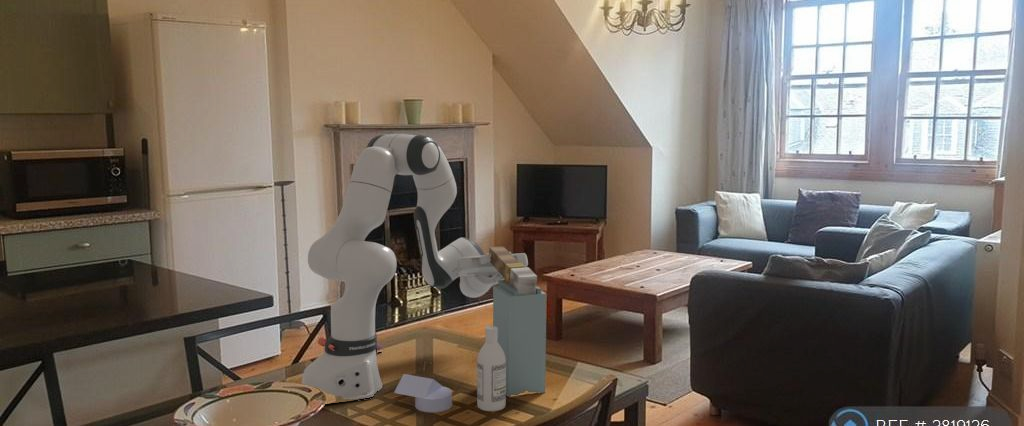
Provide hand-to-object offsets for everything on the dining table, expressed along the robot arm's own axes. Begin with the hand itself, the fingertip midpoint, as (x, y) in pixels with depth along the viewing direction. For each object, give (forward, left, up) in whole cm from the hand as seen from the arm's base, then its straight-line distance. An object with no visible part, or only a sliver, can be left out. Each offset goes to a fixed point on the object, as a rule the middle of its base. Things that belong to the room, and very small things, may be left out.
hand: (499, 255), depth 214 cm
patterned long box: (-2, -8, -4) cm, 9 cm away
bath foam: (-17, -21, -33) cm, 43 cm away
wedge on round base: (-29, -11, -33) cm, 45 cm away
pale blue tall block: (-4, -14, -32) cm, 36 cm away
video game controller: (-23, +36, -33) cm, 54 cm away
